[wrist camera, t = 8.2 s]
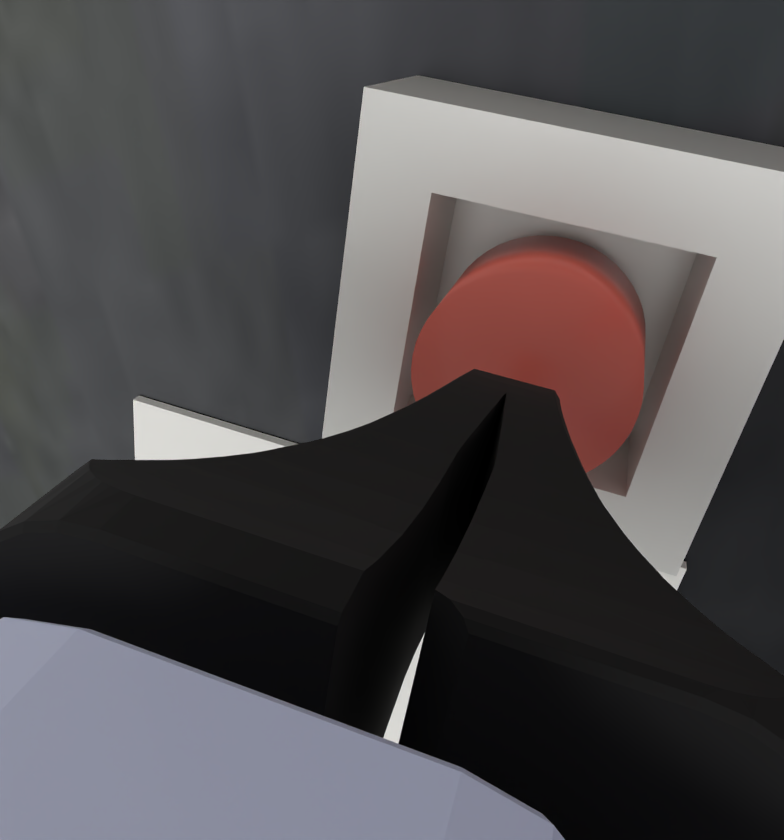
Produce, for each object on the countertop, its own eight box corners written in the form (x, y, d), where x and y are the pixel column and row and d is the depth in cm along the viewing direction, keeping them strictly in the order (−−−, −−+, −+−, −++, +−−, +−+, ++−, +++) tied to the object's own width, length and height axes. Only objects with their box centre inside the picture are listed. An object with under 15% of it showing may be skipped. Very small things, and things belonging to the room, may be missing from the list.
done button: (674, 263, 14) (678, 306, 12) (610, 445, 16) (603, 510, 14) (465, 214, 14) (431, 246, 12) (428, 394, 16) (395, 449, 14)
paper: (686, 561, 19) (686, 570, 19) (563, 830, 25) (562, 840, 25) (139, 395, 22) (131, 400, 22) (146, 671, 28) (140, 678, 28)
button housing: (812, 153, 14) (852, 186, 11) (673, 487, 18) (676, 576, 15) (418, 74, 16) (364, 86, 13) (368, 400, 20) (318, 465, 17)
